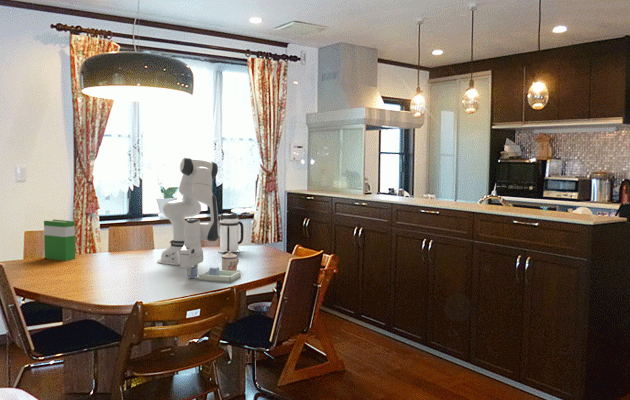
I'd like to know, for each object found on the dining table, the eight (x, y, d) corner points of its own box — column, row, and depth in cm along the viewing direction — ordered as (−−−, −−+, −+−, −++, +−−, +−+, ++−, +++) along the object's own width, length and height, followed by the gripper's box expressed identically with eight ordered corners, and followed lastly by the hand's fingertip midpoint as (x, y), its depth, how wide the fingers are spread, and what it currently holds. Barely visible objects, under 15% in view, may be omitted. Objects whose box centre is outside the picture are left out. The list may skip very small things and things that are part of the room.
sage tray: (199, 280, 294) (199, 274, 294) (210, 274, 308) (210, 269, 308) (230, 282, 290) (230, 277, 290) (240, 277, 303) (240, 271, 303)
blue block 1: (187, 277, 297) (187, 268, 297) (190, 275, 301) (190, 266, 300) (193, 277, 296) (193, 268, 296) (197, 276, 300) (197, 267, 299)
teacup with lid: (229, 273, 311) (229, 253, 310) (218, 271, 316) (218, 251, 315) (243, 270, 321) (244, 250, 320) (232, 268, 326) (232, 248, 325)
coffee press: (239, 254, 369) (240, 210, 366) (216, 254, 369) (216, 210, 367) (243, 250, 386) (243, 208, 384) (220, 249, 386) (221, 207, 384)
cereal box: (44, 258, 345) (43, 220, 343) (54, 256, 352) (53, 219, 349) (65, 261, 338) (65, 222, 336) (75, 259, 345) (74, 221, 343)
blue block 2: (209, 277, 298) (209, 268, 298) (212, 275, 302) (212, 266, 302) (216, 277, 297) (216, 268, 297) (219, 276, 301) (219, 267, 301)
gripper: (196, 244, 308) (195, 268, 309) (178, 251, 288) (177, 276, 289) (206, 245, 306) (206, 269, 308) (188, 252, 287) (188, 277, 288)
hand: (192, 273), depth 298 cm, fingers closed on blue block 1, 4 cm apart
